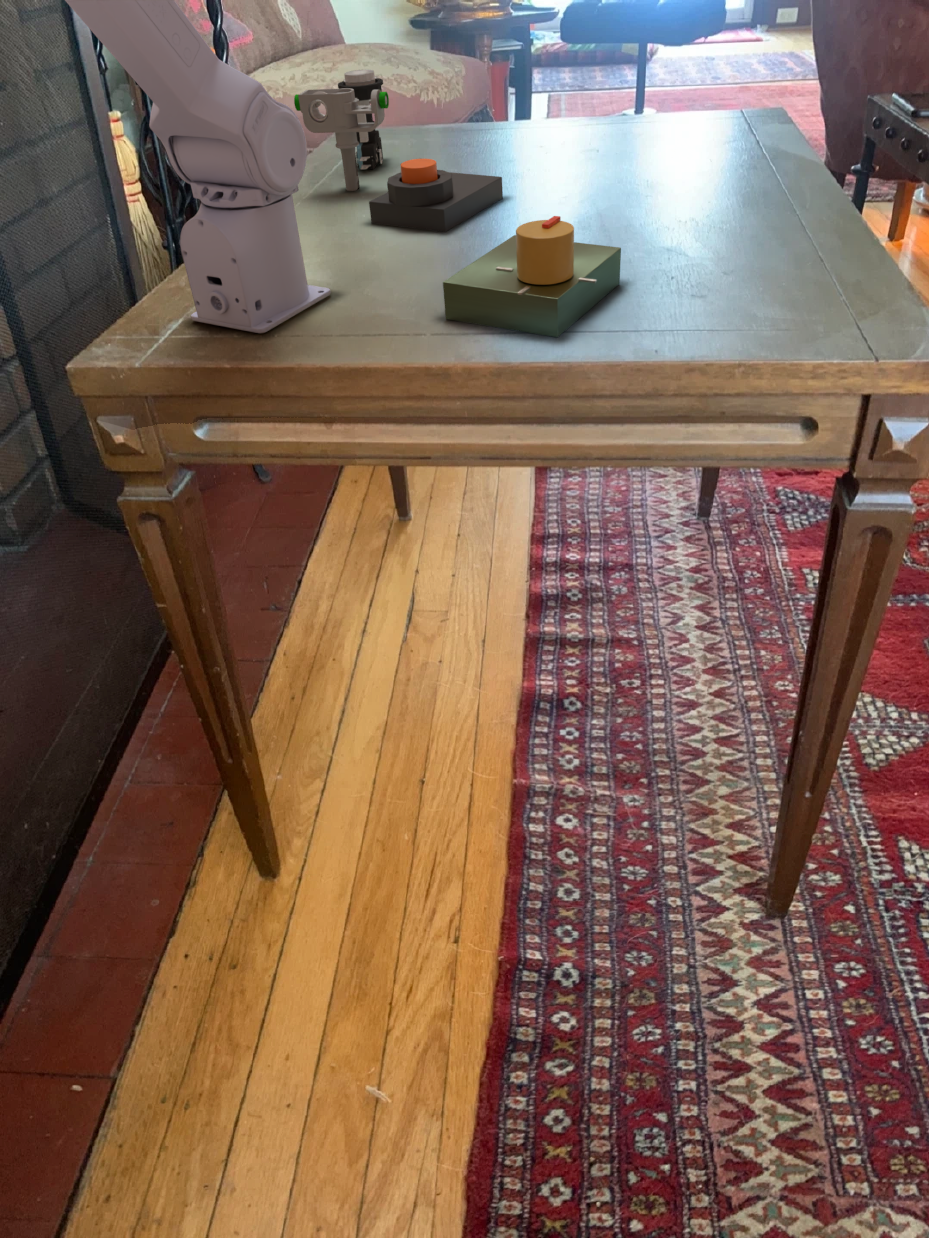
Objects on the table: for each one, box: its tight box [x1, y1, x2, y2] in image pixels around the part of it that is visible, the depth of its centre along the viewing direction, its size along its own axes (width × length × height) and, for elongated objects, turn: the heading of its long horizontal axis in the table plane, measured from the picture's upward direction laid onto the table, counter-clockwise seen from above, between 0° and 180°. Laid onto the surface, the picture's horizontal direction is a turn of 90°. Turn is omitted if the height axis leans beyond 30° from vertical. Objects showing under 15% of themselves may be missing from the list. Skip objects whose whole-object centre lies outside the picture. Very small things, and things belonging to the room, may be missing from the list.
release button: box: [400, 158, 438, 184], centre depth 92 cm, size 4×4×2 cm
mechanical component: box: [293, 88, 390, 192], centre depth 102 cm, size 3×10×10 cm, turn 79°
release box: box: [368, 169, 504, 233], centre depth 96 cm, size 12×9×4 cm
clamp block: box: [442, 234, 622, 338], centre depth 75 cm, size 12×11×3 cm
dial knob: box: [515, 215, 575, 285], centre depth 71 cm, size 4×4×4 cm
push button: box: [337, 68, 384, 171], centre depth 110 cm, size 7×5×10 cm
